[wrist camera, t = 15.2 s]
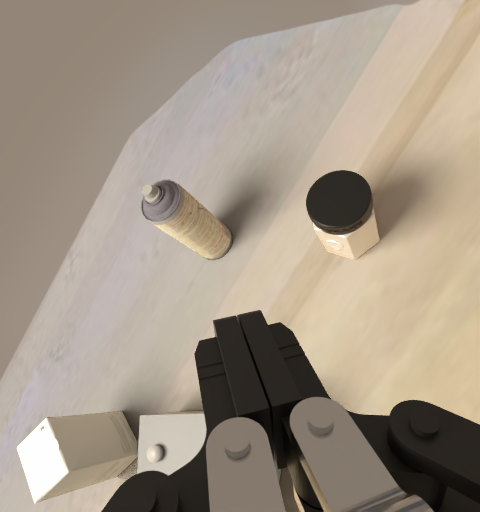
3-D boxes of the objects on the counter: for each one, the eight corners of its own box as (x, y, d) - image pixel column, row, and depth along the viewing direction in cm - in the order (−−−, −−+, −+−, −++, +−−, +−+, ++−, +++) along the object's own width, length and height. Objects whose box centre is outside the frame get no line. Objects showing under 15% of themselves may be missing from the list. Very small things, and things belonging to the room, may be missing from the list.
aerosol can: (214, 218, 67) (147, 159, 50) (239, 236, 64) (177, 179, 47) (192, 247, 67) (117, 199, 50) (216, 267, 64) (145, 221, 46)
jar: (313, 248, 57) (292, 218, 47) (332, 203, 59) (316, 164, 48) (369, 266, 53) (360, 236, 43) (389, 217, 54) (384, 176, 44)
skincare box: (97, 433, 63) (13, 445, 49) (124, 408, 62) (46, 413, 49) (117, 479, 58) (31, 506, 45) (146, 452, 58) (67, 472, 44)
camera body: (261, 408, 53) (230, 412, 44) (266, 480, 49) (233, 501, 40) (166, 411, 59) (121, 416, 49) (164, 476, 55) (115, 494, 46)
